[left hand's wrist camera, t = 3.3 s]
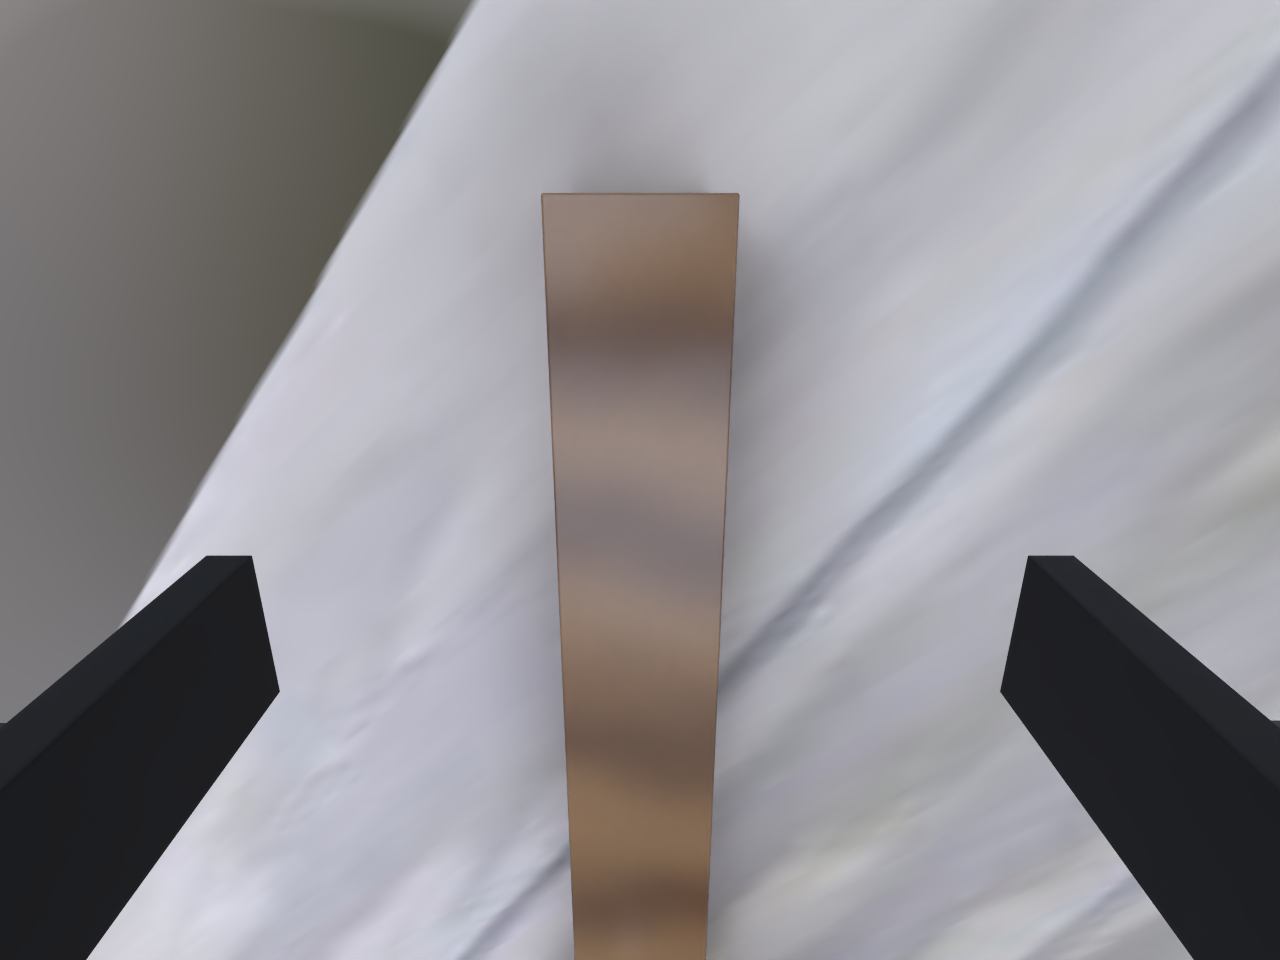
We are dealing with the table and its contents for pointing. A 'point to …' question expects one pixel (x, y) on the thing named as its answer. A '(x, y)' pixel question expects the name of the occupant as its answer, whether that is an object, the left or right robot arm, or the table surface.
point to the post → (640, 550)
